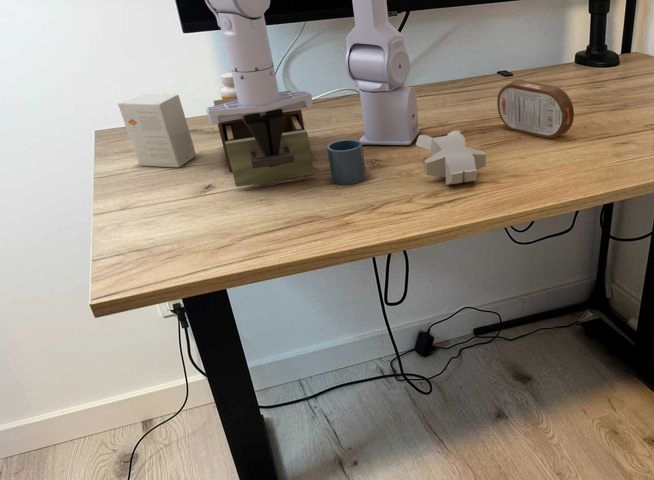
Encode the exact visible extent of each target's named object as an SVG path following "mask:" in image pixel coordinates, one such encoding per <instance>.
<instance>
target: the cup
mask: <svg viewBox="0 0 654 480" xmlns="http://www.w3.org/2000/svg"><path fill="white" fill-rule="evenodd" d="M326 151H327V157H328V164H329V171H330V176H331V181H332V182H333V183H334V184H336V185H343V186H345V185H347V186H348V185H355V184H359V183H362V182H364V181H365V180H366V178H367V172H366V171H367V170H366V163H365V154H364V147H363V144H362V143H361V142H360V141H359V140H358V139H341V140H336V141H333V142H330V143H328V145H326Z"/></svg>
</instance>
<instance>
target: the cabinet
mask: <svg viewBox="0 0 654 480" xmlns="http://www.w3.org/2000/svg"><path fill="white" fill-rule="evenodd" d="M281 93H292V91H291V90H285V91H279V94H281ZM236 100H238V98H230V99H222V98H221V99H215V100H213V106H217V105H221V104H225V103H229V102H232V101H236ZM282 112H283V115H284V116H287V115H295V117H296V119H297V121H298V123H299V125H300V126H301V128H302V130H306V129H305V124H304V117H303V111H302V108H299V109H293V110H287V111H282ZM260 116H261V115H260ZM237 122H243V120H242V119H236V120H231V121H225V122H219V124H217V127H218V132H219V134H220V139H221V140H220V141H221V143H222V148H223V151H224V155H225V159H226V163H227V166H228V171H229V172H230V173H233V172H232V168H231V164H230V160H229V156H228V152H227V148H226V144H225V142H226V141H228V136H227V131H226V126H225V124H230V123H237Z"/></svg>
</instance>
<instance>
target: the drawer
mask: <svg viewBox="0 0 654 480" xmlns="http://www.w3.org/2000/svg"><path fill="white" fill-rule="evenodd" d="M225 126H226V131H227V136H228V141H226V142H225V144H226V148H227V152H228V156H229V160H230V164H231V168H232V172H231V173H232V177H233V180H234V184H235V187H236V188H238V187H244V186H249V185H255V184H256V185H257V184H262V183H268V182H275V181H280V180H286V179H293V178H299V177H305V176H310V175H311V176H312V175H315V169H314V164H313V163H314V162H313V158H312V151H311V147H310V141H309V134H308V131H307V130H306V129H305V130H302V128H301V126H300V125H299V123H298V121H297V119H296V117H295V115H287V116H285V126H284V129H283V132H282V136H281V141H280V149H279V154H278V155H271V156H265V157H264V155H263V153H262V151H261V149H260V147H259V145H258V143H257V141H256V140H255V138H254V136H253V135H252V133H251V132H250V130H249V129H248V127H247V126H246V124H245V123H244V122H237V123H230V124H225ZM273 165H279V166H274V167H269V166H273Z"/></svg>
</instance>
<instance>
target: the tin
mask: <svg viewBox="0 0 654 480" xmlns="http://www.w3.org/2000/svg"><path fill="white" fill-rule="evenodd" d="M496 101H497V102H496V104H497V112H498V115H499V118H500V120H501V121H502V123H503V124H504V125H505V126H506V127H507V128H508V129H510V130H511V131H515V132H518V133H519V132H520V133H522V134H527V135H532V136H535V137H539V138H544V139H548V140H549V139H554V138H557V137H560V136H561V135H564V134H566V133H567V132H568V131H569V130H570V128H571V127H572V125H573V122H574V118H575V109H574V105H573V102H572V99H571V98H570V96H569V95H568V93H566V92H565V90H564V89H562V88H561V87H559V86H556V85H551V84H546V83H541V82H537V81H529V80H525V79H515V80H512V81H511V82H510V83H507V84H505V85H504V86H503V87H502V88H501V89H500V90H499V93H498V95H497V99H496Z"/></svg>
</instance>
